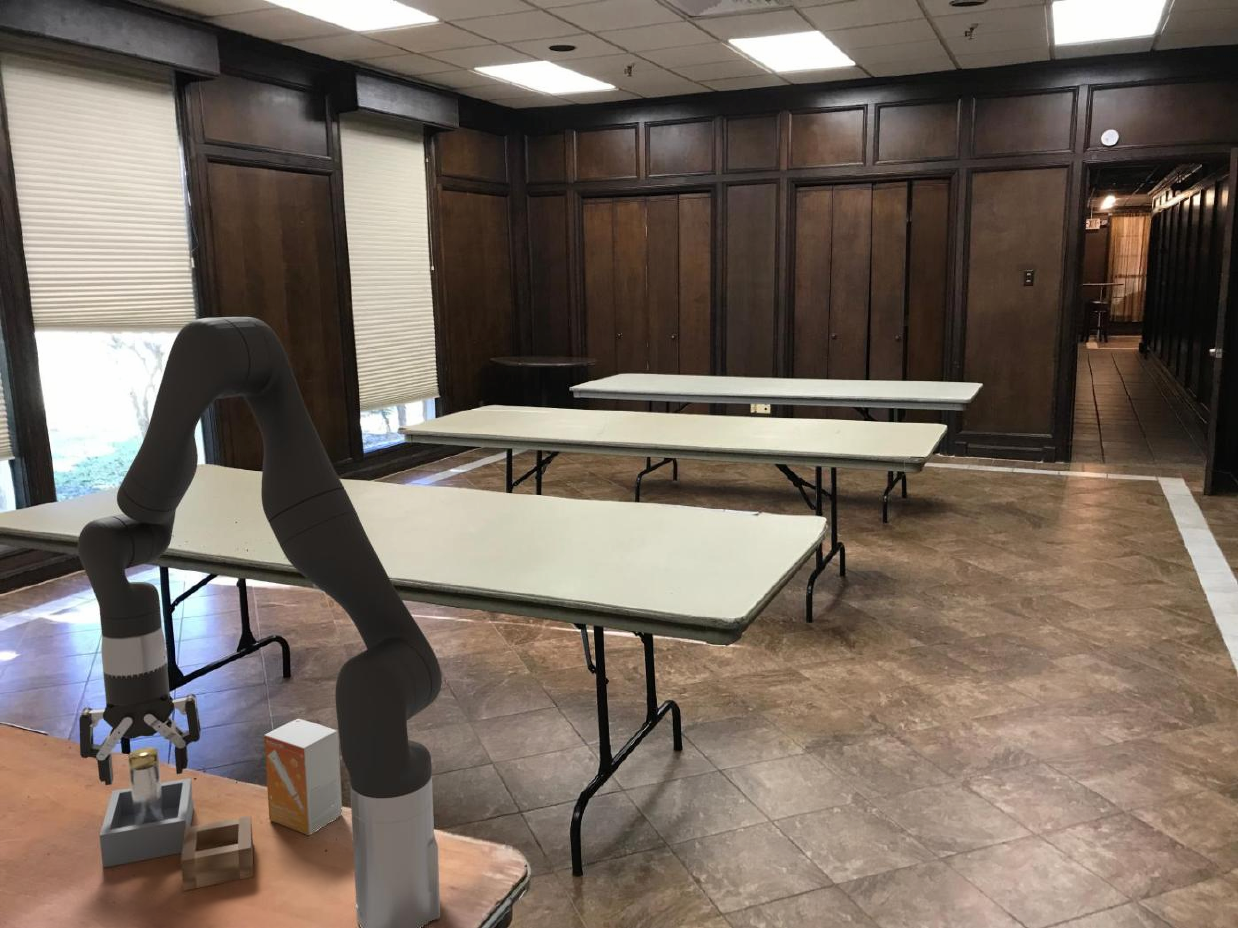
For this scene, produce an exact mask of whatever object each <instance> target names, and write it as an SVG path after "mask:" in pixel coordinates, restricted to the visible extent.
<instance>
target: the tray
mask: <svg viewBox="0 0 1238 928" xmlns="http://www.w3.org/2000/svg"><path fill="white" fill-rule="evenodd" d="M192 787H193V786H192V778H191V777H190V778H189V777H188V778H183V779H178V780H177V779H175V780H170V781H164V782H161V788H162V800H163V811H164V820H163V821H157V822H151V823H146V824H140V825H135V824H134V813H133V802H132V792H131V787H128V788H127V787H126V788H121V789H116V790H112V792H111V795H110V799H109V802H108V805H107V808H106V809H107V810H106V812H105V816H104V819H103V823H102V825H101V830H100V833H99V843H100V851H101V862H102V863H101V864H102V868H103V869H104V868H109V867H113V866H119V865H124V864H129V863H130V864H131V863H134V862H140V861H141V862H142V861H144V860H150V859H155V858H156V859H157V858H161V857H167V856H172V855H176V854H182V849H183V842H184V834H185V828H186V827H191V826H192V822H193V814H194V797H193V788H192Z"/></svg>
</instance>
